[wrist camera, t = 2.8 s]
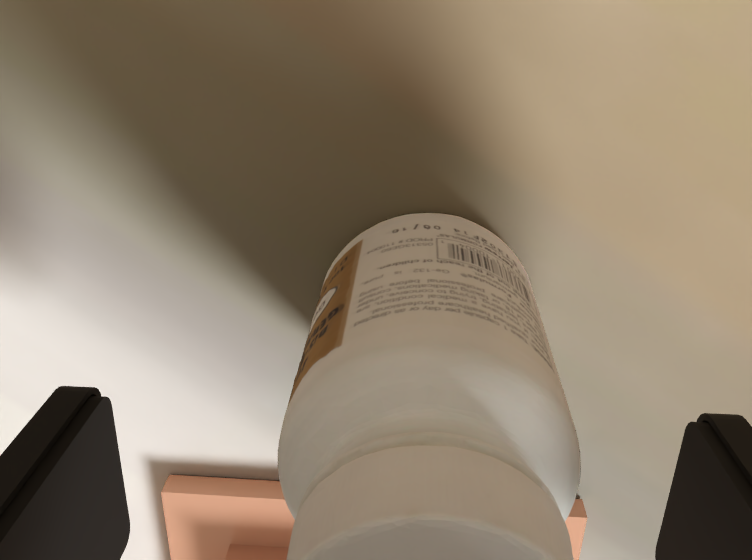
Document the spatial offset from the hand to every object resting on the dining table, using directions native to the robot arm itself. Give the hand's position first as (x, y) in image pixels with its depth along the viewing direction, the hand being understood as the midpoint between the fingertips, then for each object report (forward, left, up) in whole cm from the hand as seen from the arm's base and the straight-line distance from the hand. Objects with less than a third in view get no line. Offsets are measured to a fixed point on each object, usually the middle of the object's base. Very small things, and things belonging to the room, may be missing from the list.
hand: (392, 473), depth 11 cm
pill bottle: (-1, +1, -4) cm, 4 cm away
